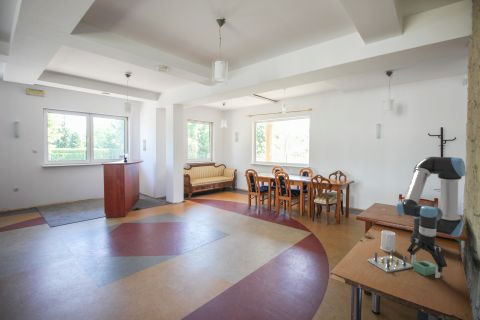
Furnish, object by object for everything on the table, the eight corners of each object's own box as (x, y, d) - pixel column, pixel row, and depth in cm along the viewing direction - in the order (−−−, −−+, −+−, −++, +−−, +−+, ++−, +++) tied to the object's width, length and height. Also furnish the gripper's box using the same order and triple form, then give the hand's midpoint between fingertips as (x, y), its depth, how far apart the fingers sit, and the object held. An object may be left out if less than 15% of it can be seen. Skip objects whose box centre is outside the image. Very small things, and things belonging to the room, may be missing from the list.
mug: (391, 255, 153) (392, 237, 152) (377, 250, 159) (377, 233, 158) (396, 249, 161) (397, 232, 160) (382, 245, 167) (383, 229, 166)
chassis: (391, 256, 151) (392, 247, 150) (413, 267, 137) (414, 257, 137) (367, 260, 145) (367, 251, 144) (387, 272, 131) (387, 262, 131)
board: (425, 267, 137) (426, 259, 137) (437, 273, 132) (437, 264, 131) (413, 270, 134) (413, 262, 134) (424, 276, 129) (425, 267, 128)
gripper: (401, 227, 142) (399, 261, 144) (447, 243, 119) (444, 284, 120) (410, 226, 144) (408, 259, 146) (457, 242, 121) (454, 282, 122)
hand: (424, 271), depth 133 cm, fingers open, 12 cm apart
